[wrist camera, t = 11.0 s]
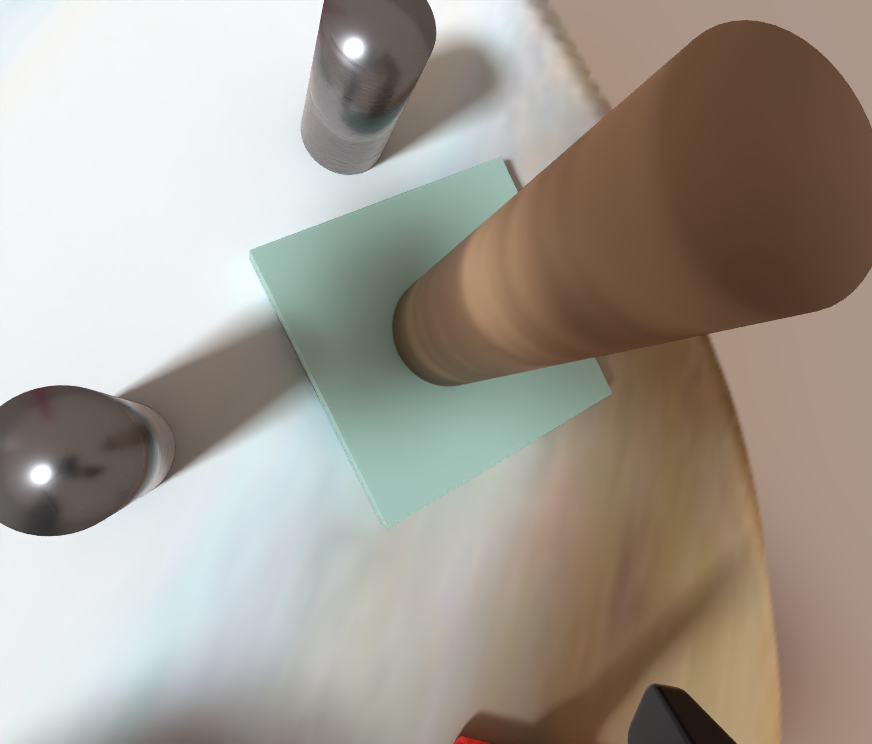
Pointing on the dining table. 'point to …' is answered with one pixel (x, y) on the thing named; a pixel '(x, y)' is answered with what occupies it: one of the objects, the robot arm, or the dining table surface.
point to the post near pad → (363, 78)
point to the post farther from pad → (77, 458)
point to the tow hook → (468, 741)
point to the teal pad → (378, 357)
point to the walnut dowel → (663, 219)
